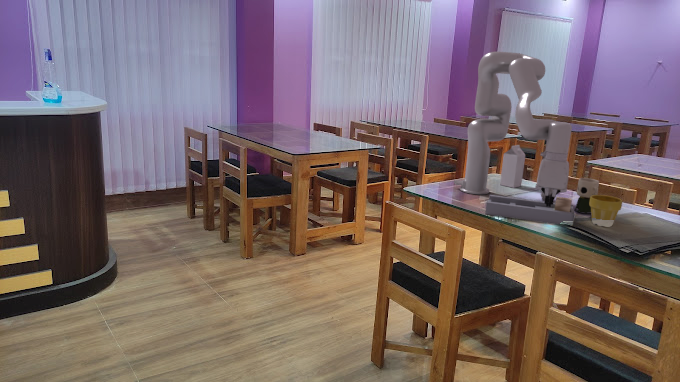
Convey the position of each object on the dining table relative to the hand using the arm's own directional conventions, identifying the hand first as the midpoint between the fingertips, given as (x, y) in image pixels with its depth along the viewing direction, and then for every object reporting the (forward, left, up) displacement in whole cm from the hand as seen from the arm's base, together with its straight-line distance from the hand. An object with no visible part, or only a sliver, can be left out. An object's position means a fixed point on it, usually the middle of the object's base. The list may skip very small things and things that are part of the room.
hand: (548, 205), depth 185 cm
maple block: (+5, 0, -2) cm, 5 cm away
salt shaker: (+1, +28, -5) cm, 29 cm away
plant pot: (+19, +2, -5) cm, 19 cm away
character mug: (+14, +16, -5) cm, 22 cm away
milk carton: (-15, +49, -5) cm, 52 cm away
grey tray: (-6, 0, -5) cm, 8 cm away
